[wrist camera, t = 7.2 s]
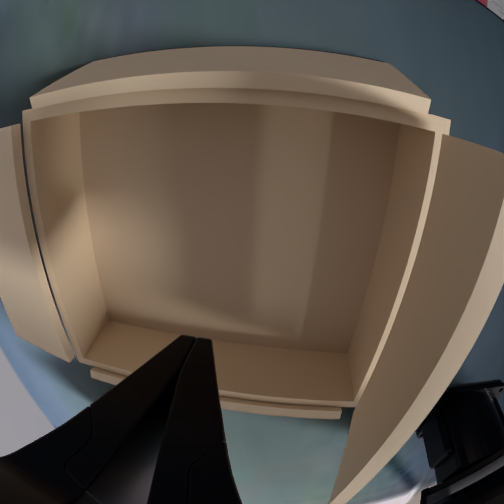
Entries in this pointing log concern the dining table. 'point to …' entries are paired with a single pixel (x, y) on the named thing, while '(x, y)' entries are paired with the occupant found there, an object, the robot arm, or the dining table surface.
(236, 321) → the carton
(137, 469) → the robot arm
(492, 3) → the ink box
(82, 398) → the dining table surface
